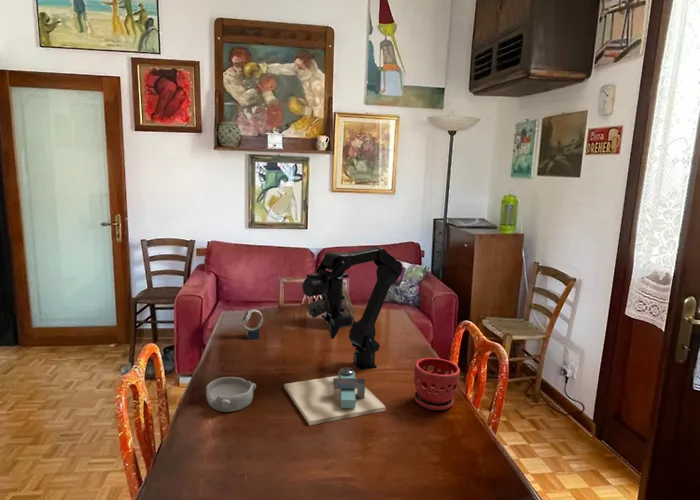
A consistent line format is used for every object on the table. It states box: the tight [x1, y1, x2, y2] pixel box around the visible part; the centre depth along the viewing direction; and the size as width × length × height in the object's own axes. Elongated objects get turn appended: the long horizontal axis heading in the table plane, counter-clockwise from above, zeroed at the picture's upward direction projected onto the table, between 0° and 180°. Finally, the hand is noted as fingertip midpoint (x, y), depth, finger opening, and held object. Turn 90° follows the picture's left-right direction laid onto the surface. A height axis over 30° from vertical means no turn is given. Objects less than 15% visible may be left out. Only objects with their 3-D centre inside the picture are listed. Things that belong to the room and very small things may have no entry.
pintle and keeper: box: [333, 366, 366, 399], centre depth 154 cm, size 14×9×5 cm, turn 4°
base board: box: [283, 375, 387, 426], centre depth 150 cm, size 23×24×1 cm
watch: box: [241, 308, 264, 341], centre depth 198 cm, size 6×8×11 cm
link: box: [338, 370, 356, 408], centre depth 152 cm, size 21×5×2 cm, turn 2°
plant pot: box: [413, 357, 461, 411], centre depth 149 cm, size 13×13×12 cm
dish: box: [205, 376, 257, 413], centre depth 147 cm, size 14×14×5 cm
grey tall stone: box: [340, 283, 357, 329], centre depth 217 cm, size 13×13×20 cm
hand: (332, 338), depth 164 cm, fingers closed
